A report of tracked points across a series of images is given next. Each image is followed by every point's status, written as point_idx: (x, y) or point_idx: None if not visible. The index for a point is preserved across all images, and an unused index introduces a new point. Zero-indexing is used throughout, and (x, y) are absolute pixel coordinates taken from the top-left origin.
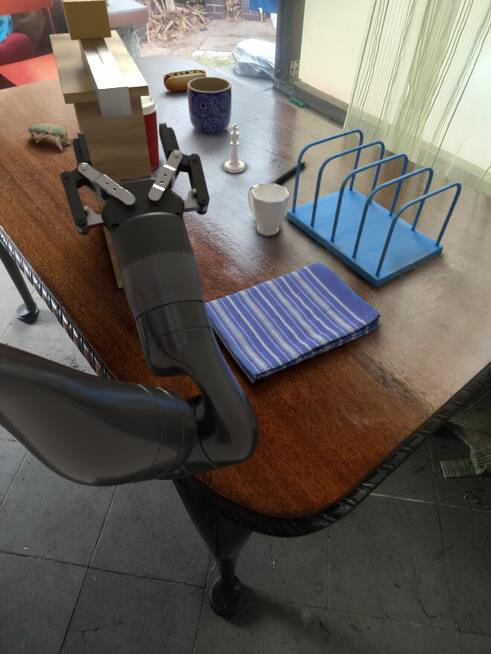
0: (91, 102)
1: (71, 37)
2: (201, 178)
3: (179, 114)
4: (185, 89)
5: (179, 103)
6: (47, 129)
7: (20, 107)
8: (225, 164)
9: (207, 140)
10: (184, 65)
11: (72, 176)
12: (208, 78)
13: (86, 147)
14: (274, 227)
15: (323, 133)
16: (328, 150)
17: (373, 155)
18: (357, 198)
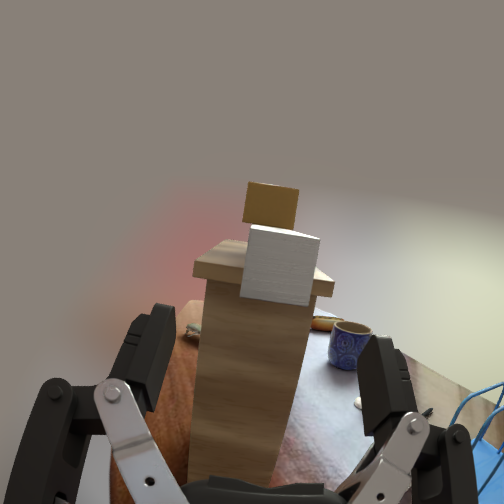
0: (234, 285)
1: (243, 218)
2: (470, 498)
3: (317, 346)
4: (325, 329)
5: (318, 338)
6: (200, 329)
7: (192, 311)
8: (356, 400)
9: (339, 373)
10: (326, 314)
11: (67, 402)
12: (352, 323)
13: (155, 343)
14: (410, 484)
15: (441, 382)
16: (449, 398)
17: (484, 405)
18: (487, 449)
